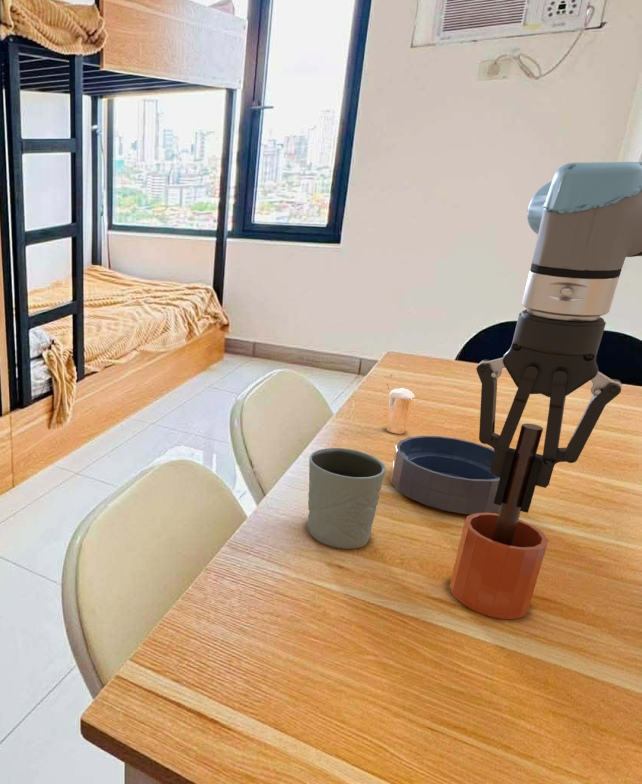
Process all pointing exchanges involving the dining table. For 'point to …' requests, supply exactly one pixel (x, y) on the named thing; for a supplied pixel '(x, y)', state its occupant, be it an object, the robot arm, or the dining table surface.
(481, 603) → the pot
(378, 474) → the grey cup
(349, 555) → the dining table surface
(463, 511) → the bowl
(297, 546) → the dining table surface
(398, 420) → the milkshake
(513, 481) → the stirring stick
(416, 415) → the dining table surface
